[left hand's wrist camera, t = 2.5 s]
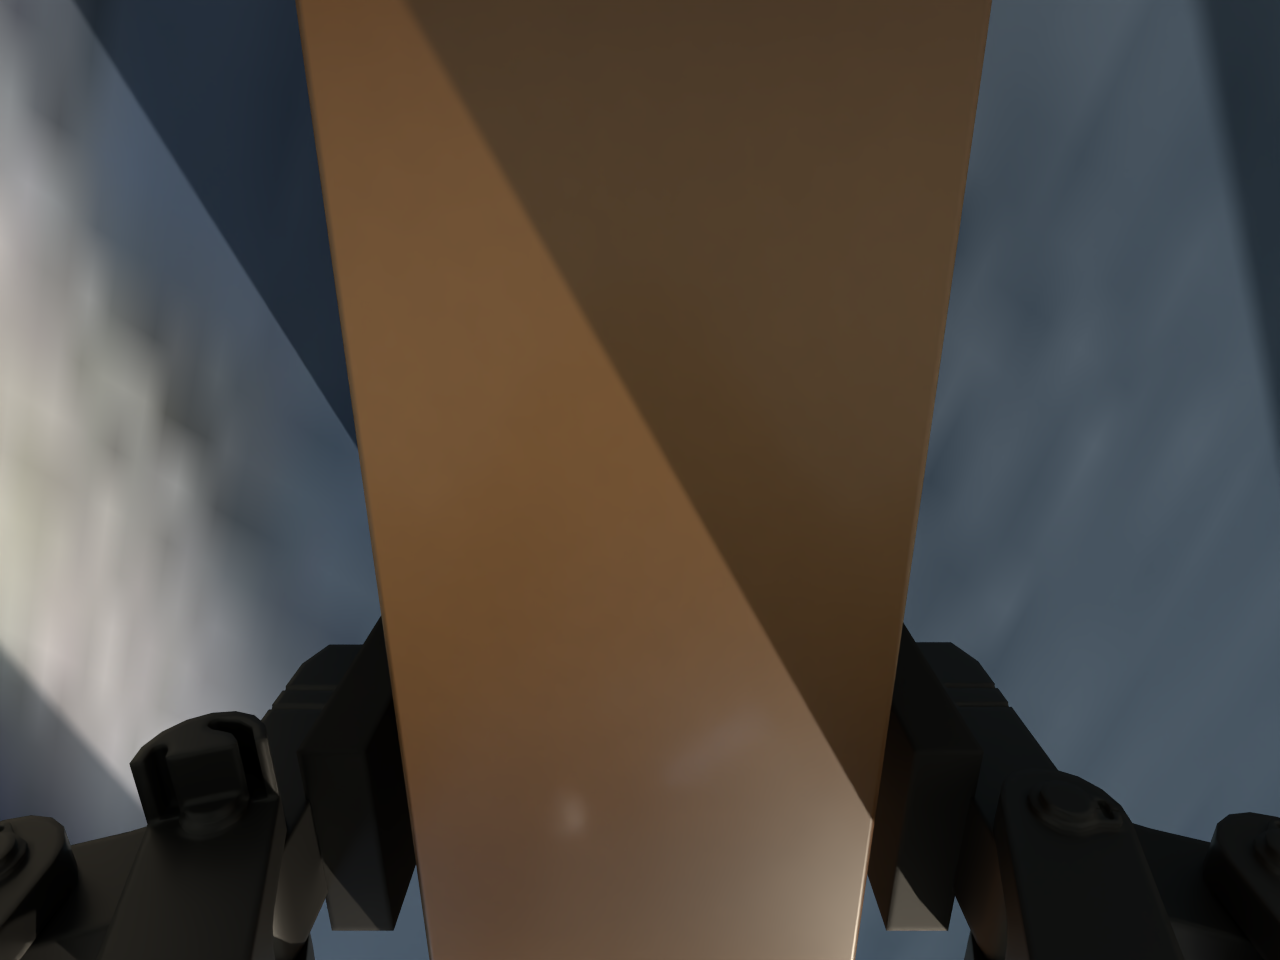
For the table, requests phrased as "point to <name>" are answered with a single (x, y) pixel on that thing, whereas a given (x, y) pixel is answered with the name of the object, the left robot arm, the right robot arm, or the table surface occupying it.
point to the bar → (643, 441)
